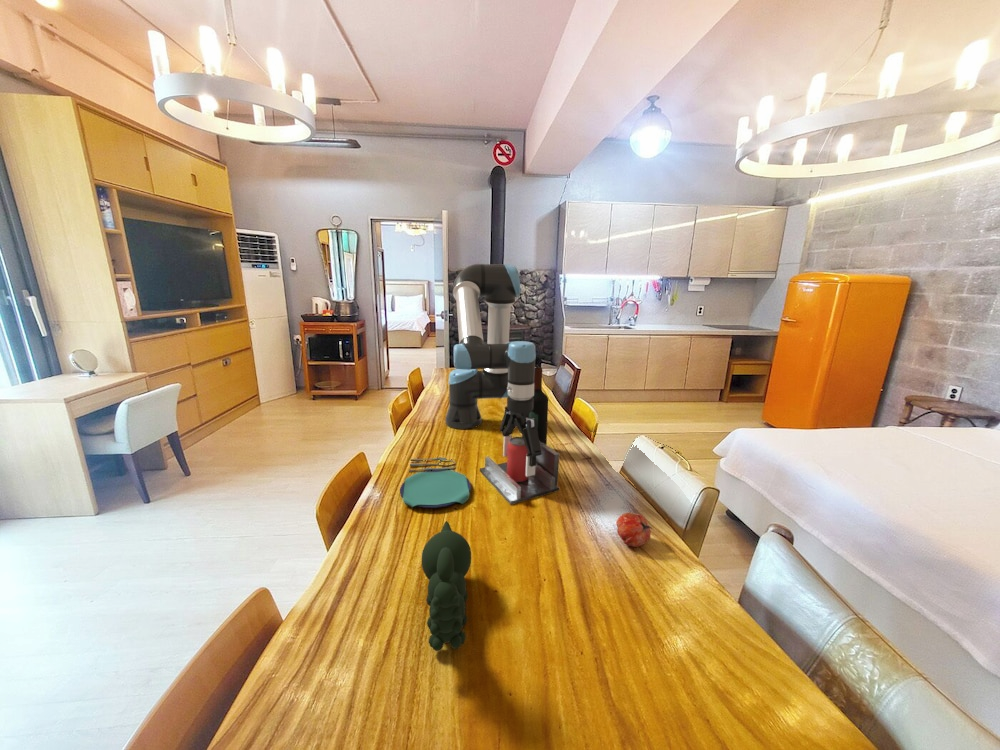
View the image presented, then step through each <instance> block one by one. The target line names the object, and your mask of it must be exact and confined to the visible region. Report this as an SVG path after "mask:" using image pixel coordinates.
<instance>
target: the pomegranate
mask: <svg viewBox="0 0 1000 750" xmlns="http://www.w3.org/2000/svg"><path fill="white" fill-rule="evenodd" d="M615 523H616V527H617V529H616V531H617V532H616V533H617V535H618V536H619V537H620V538H621V540H622V541H623V543H624V544H625V545H626V546H629V547H632V548H639V547H641V546H643V545H644V544H646V543H648V541H650V539H651V535H652V534H651V533H652V532H651V530H652V529H653V528H652V527H651V526H650V525H648V522H647V519H646V518H645V517H644V515H642V514H639V513H634V512H631V511H630V512H625V513H622V514H621V515H620V516H618V518H617V520H616V522H615Z"/></svg>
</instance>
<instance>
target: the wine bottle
mask: <svg viewBox="0 0 1000 750" xmlns="http://www.w3.org/2000/svg"><path fill="white" fill-rule="evenodd" d="M542 386H543V367H540V366H535V376H534V396H533V398H534V403H533V410H532V411H531V412H530V413H529V416H530V419H536V427H537V432H538V437H539V441H541V442H542V443H544V444H545V445H547V441H548V440H547V439H548V437H547V436H548V418H549V417H548V415H549V396H547V394H546V393H544V391H543V390H542V389H543V388H542ZM526 428H527V427H526ZM526 428H525V429H526ZM547 446H548V445H547Z"/></svg>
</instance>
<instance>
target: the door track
mask: <svg viewBox="0 0 1000 750" xmlns="http://www.w3.org/2000/svg"><path fill="white" fill-rule="evenodd" d="M521 437H523V436H522V435H521ZM539 442H540V447H541V452H542V454H541V455H539V456H536V466H535V475H532V476H529V477H528V479H527V480H525V481H523V482H515V481H514V480H513V479H512V478H511V477H510V476H509V475H508V474H507V462H503V463H499V464H498V463H496V462H495V461H494V460H493V459H492V457H490V456H485V457H484V467H481V468H479V472H480V473H481V474H482V476H483V477H484V478H485V479H486V480H487V481H488V482H489V483H490V484H491V486H493V488H494V489H496V491H498V493H499V494H500V495H501V496H502V497H503V498H504V499H505V500H506V501H507V502H508V504H509V505H510V506H511V505H514V504H519V503H522V502H526V501H527V500H528V501H529V500H532V499H535V498H538V497H541V496H544V495H545V496H546V495H549V494H553V493H555V492H558V491H560V486H558V481H559V467H560V466H559V465H560V464H559V463H560V453H559V452H557V451H556V450H555V449H553V448H551V447H550V446H548V445H545V444H544V443H542V442H541V441H539Z"/></svg>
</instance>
